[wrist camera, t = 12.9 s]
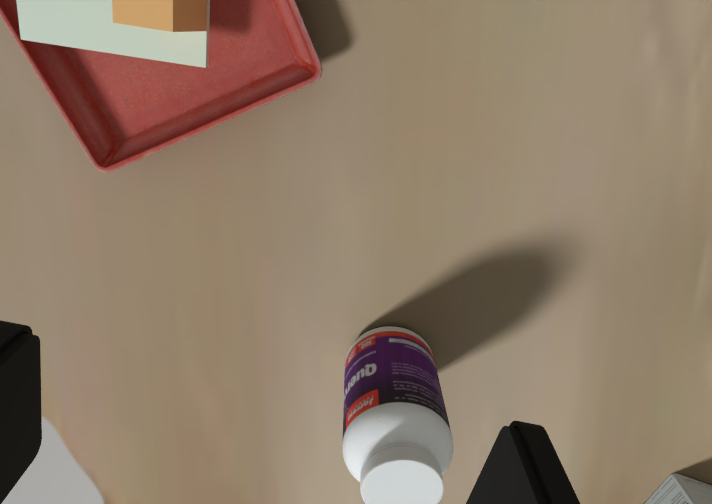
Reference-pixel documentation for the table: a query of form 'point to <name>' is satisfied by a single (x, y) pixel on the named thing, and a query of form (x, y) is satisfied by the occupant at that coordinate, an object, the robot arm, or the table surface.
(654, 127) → the table surface
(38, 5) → the white tan l-shaped piece
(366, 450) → the pill bottle
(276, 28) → the plant saucer
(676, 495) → the supplement box
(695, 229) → the table surface
